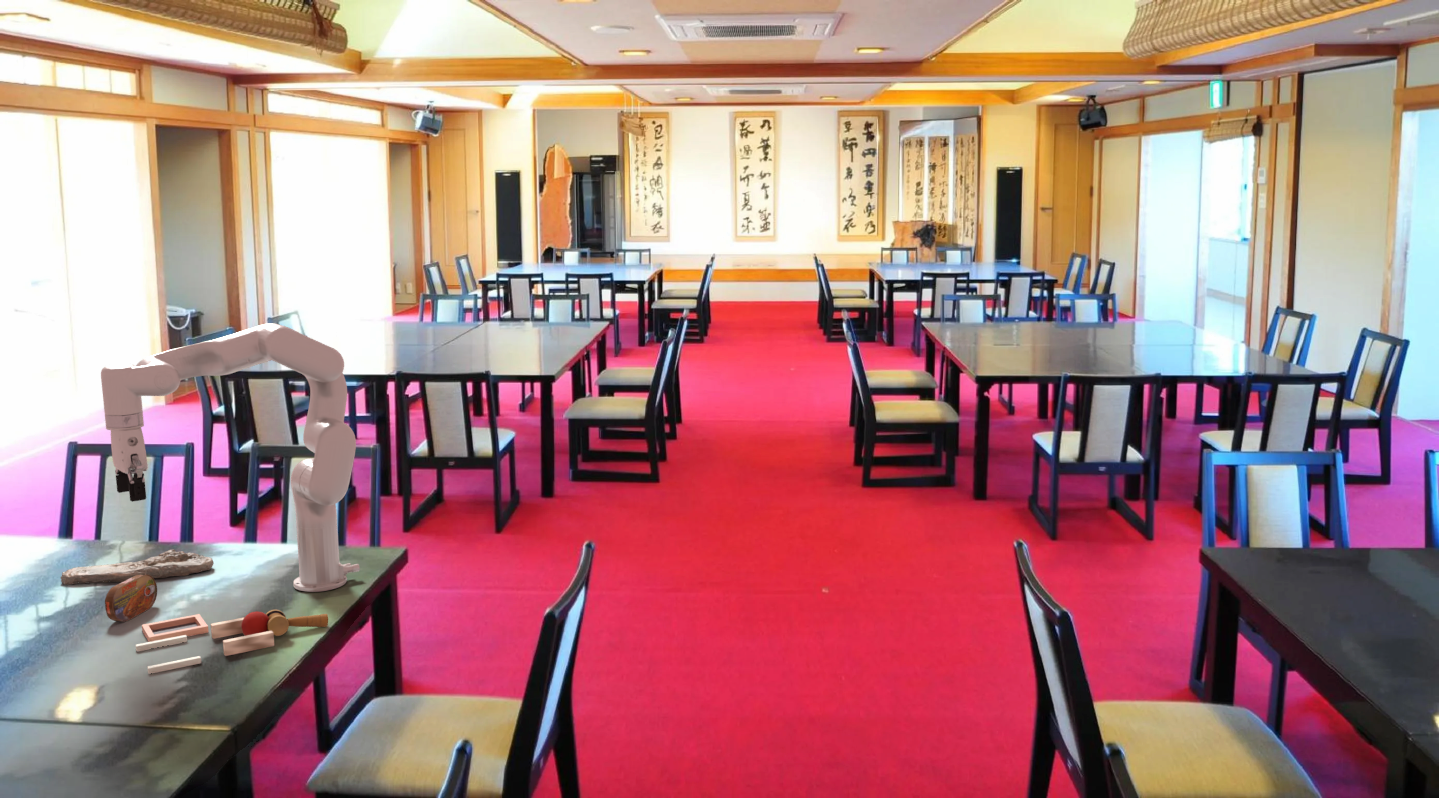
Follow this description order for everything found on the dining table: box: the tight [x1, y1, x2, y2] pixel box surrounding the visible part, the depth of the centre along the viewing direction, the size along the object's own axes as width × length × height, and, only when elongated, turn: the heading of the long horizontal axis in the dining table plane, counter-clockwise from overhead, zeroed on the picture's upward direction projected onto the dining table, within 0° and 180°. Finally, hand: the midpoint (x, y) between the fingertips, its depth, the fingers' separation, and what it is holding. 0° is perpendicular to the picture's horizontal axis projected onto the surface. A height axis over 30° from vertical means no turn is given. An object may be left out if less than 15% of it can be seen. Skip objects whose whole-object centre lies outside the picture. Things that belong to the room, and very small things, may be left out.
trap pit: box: [141, 613, 209, 642], centre depth 266 cm, size 12×9×2 cm
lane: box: [210, 616, 275, 657], centre depth 261 cm, size 10×13×3 cm
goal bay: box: [135, 635, 202, 675], centre depth 253 cm, size 10×15×1 cm, turn 34°
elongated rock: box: [60, 548, 215, 586], centre depth 303 cm, size 35×5×10 cm
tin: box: [104, 575, 158, 623], centre depth 276 cm, size 15×3×8 cm, turn 168°
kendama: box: [241, 609, 329, 637], centre depth 266 cm, size 8×6×18 cm
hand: (131, 495), depth 267 cm, fingers open, 9 cm apart
